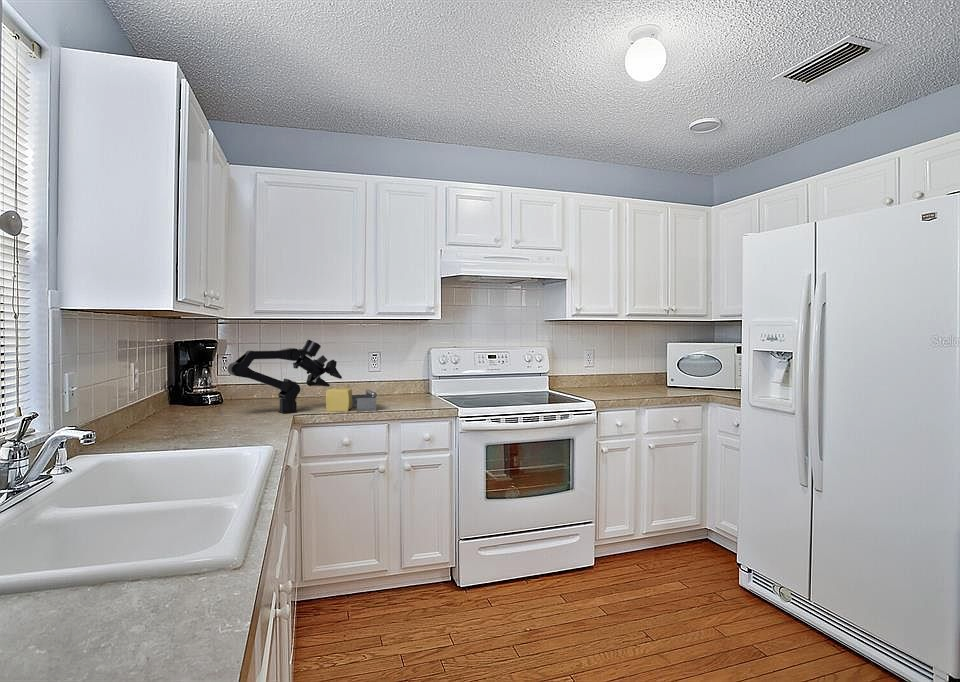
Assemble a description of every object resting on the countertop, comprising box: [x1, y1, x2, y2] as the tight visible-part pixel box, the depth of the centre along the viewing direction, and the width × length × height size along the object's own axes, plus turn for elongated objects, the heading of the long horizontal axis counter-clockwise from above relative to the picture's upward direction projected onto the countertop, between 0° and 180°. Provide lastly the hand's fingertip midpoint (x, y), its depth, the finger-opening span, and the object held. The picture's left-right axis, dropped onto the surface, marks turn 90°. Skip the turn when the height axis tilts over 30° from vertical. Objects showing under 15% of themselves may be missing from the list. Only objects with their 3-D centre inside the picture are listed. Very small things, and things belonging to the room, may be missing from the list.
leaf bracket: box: [352, 389, 378, 412], centre depth 282 cm, size 10×17×8 cm, turn 23°
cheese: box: [325, 387, 353, 412], centre depth 278 cm, size 10×11×10 cm
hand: (335, 381), depth 283 cm, fingers open, 9 cm apart
